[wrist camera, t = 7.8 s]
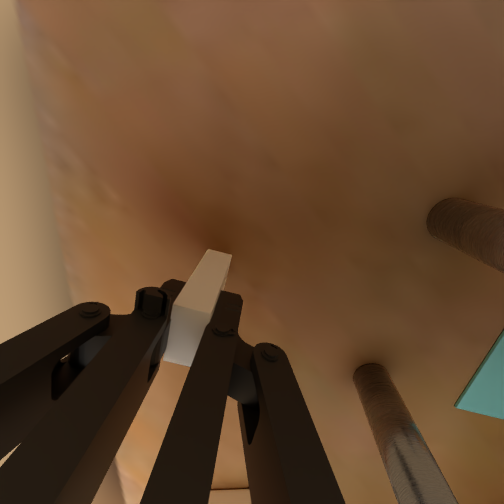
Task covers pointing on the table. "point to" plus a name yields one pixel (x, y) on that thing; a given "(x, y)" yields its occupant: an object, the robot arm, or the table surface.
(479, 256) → the post
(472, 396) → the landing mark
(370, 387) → the post
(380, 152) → the table surface
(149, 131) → the table surface
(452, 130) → the table surface
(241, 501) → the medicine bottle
